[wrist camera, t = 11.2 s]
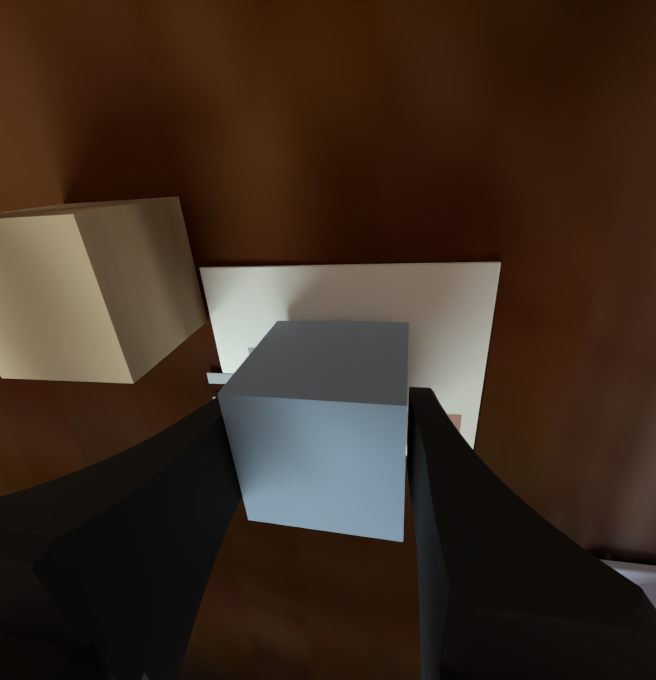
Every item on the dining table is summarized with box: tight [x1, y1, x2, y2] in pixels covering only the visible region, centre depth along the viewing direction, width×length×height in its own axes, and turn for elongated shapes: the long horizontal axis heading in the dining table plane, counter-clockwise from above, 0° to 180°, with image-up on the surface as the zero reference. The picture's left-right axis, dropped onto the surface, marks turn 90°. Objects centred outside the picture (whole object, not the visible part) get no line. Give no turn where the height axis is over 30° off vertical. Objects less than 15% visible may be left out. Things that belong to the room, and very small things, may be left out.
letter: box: [199, 262, 501, 455], centre depth 14 cm, size 11×8×1 cm
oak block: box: [0, 197, 207, 383], centre depth 11 cm, size 4×4×4 cm
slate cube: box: [217, 321, 409, 542], centre depth 11 cm, size 4×4×4 cm
